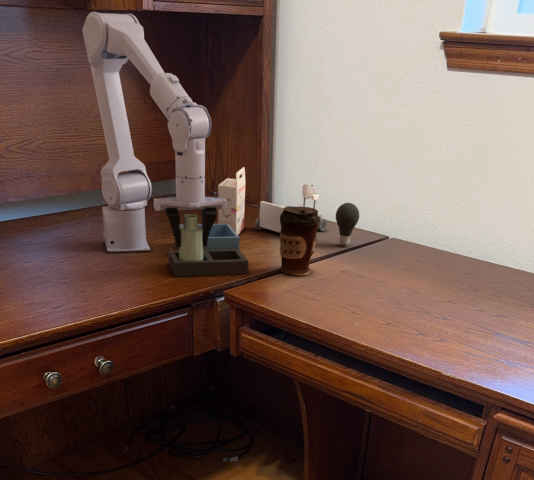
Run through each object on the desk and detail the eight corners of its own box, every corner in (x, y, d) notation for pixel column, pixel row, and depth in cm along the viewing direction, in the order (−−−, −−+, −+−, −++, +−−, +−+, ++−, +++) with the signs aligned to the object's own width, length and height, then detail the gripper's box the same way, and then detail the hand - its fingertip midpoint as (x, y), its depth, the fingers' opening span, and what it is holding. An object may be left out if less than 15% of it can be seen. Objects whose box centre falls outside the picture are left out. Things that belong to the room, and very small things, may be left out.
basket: (185, 259, 148) (185, 238, 145) (176, 244, 156) (176, 224, 154) (238, 257, 151) (239, 237, 148) (227, 242, 159) (228, 223, 157)
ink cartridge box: (225, 226, 171) (226, 164, 162) (244, 228, 170) (246, 166, 162) (216, 235, 164) (217, 171, 155) (236, 237, 163) (238, 173, 155)
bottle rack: (175, 276, 138) (174, 263, 136) (168, 263, 144) (168, 250, 143) (247, 273, 142) (248, 260, 140) (238, 261, 148) (238, 248, 147)
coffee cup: (301, 281, 140) (307, 216, 133) (268, 272, 143) (271, 209, 136) (321, 270, 146) (327, 208, 139) (288, 262, 150) (293, 201, 142)
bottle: (181, 266, 139) (180, 219, 133) (177, 259, 143) (176, 212, 137) (205, 265, 140) (205, 219, 135) (200, 258, 144) (200, 212, 139)
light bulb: (358, 245, 164) (364, 202, 158) (350, 250, 160) (356, 207, 154) (336, 241, 166) (341, 198, 160) (329, 246, 161) (333, 203, 156)
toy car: (301, 180, 175) (336, 188, 169) (298, 219, 181) (332, 228, 175) (255, 189, 164) (292, 198, 158) (254, 230, 169) (288, 240, 164)
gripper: (156, 180, 127) (158, 252, 134) (230, 180, 130) (229, 250, 138) (151, 172, 132) (154, 242, 140) (222, 172, 136) (221, 240, 144)
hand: (190, 245), depth 139 cm, fingers closed on bottle, 5 cm apart
